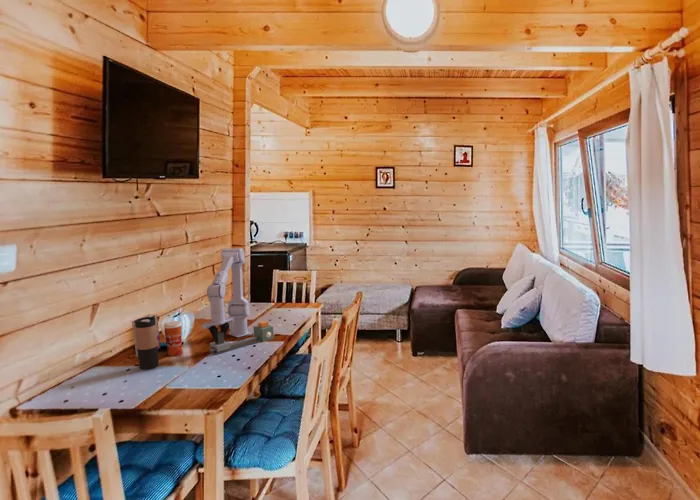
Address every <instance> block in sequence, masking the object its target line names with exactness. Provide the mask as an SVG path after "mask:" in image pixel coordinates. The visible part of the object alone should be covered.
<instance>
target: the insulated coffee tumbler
mask: <svg viewBox="0 0 700 500" xmlns="http://www.w3.org/2000/svg"><path fill="white" fill-rule="evenodd" d="M145 317H154V318H155V322H156V332H157V342H158V349H159V348H161V340H160V330H159V321H158V315H157V314H148V315H147V314H146V315H145V316H142V317H140V318H145ZM140 318H138V319H140ZM131 324H132V331H133V341H134V342H133V343H134V350H135V357H136V358H138V351H137V341H136V328H135V320H132V321H131Z"/></svg>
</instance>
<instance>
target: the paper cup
mask: <svg viewBox="0 0 700 500" xmlns="http://www.w3.org/2000/svg"><path fill="white" fill-rule="evenodd" d="M182 326H183V323H182V322H181V321H180V320H171V321H170V320H169V321H167V322H164V324H163V326H162V327H163V329H164V335H165V342H166V349H167V354H168V356H170V357H171V356H172V357H173V356H178V355H181V354H182V352H183V349H182V348H183V347H182V346H183V345H182V343H183V342H182V340H183V339H182Z"/></svg>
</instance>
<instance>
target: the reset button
mask: <svg viewBox="0 0 700 500" xmlns="http://www.w3.org/2000/svg"><path fill="white" fill-rule="evenodd" d="M257 325H258V327H260V328H265V327H268V325H269V321H267V320H261V321H258V322H257Z"/></svg>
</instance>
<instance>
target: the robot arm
mask: <svg viewBox="0 0 700 500" xmlns="http://www.w3.org/2000/svg"><path fill="white" fill-rule="evenodd" d="M220 256H221V265H220V268H219V271H217V272H216V273H215V275H214V277H213V280H212V282H211V284H210V285H208V286H207V289H206V295H207V298H208V301H209V304H210V319H211V320H210V321H207V322H204V323H202V324H201V328H202V329H203V330H206V329H207V330H208V331H209V333H210V334H211V336H212V339H213V342H216V343H217V342H218V336H217V333H218V331H222V332H224V341H226V337H227V333H228V335H230V336H232V337H235V338H241V337H244V336H248V335H251V334H252V332H250V331H249V330H248V317H249V315H250V314H251V307H250V302H249V300H248V299H246V298H245V297H244V286H243V285H244V284H243V265H245V263H246V253H245V251H244V249H243V248H242V247H239V248H223V249H222V250H221V253H220ZM230 269H231V276H232V279H231V281H232V298H231V299H230V300H229V301H228V304H227V315H228V316H229V317H225V304H224V302H225V301H224V297H225V295H226V286H227V282H228V279H229V275H228V273H229V271H230ZM217 326H219V328H218V327H217ZM228 330H229V332H228Z"/></svg>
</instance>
